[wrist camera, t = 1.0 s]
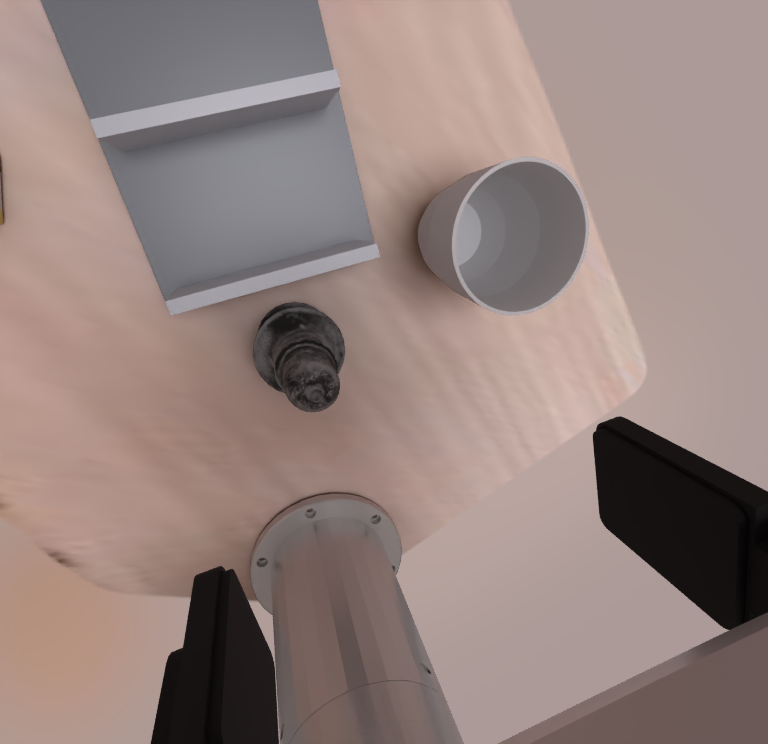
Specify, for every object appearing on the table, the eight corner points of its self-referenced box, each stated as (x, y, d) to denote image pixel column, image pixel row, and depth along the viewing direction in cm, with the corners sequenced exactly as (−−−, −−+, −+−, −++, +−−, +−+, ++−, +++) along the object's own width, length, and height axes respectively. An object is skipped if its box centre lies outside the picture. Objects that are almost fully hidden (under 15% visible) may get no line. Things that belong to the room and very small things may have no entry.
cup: (511, 264, 36) (600, 280, 27) (418, 306, 35) (477, 338, 26) (483, 156, 33) (572, 132, 24) (379, 199, 32) (431, 192, 23)
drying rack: (371, 246, 33) (396, 252, 27) (169, 302, 31) (151, 321, 25) (293, -83, 26) (305, -163, 21) (26, -45, 24) (-40, -123, 18)
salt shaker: (310, 391, 35) (337, 471, 24) (237, 354, 33) (230, 424, 22) (350, 323, 34) (398, 374, 23) (278, 282, 32) (294, 316, 21)
